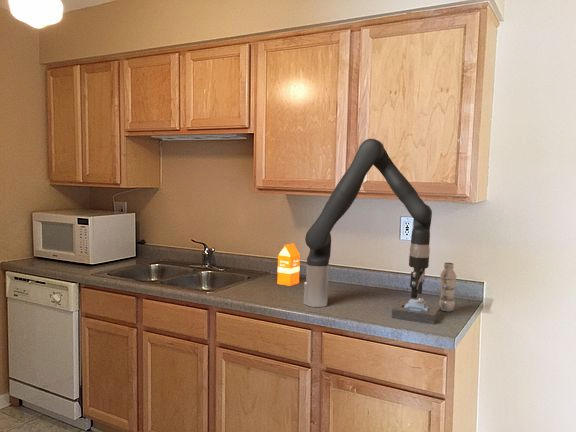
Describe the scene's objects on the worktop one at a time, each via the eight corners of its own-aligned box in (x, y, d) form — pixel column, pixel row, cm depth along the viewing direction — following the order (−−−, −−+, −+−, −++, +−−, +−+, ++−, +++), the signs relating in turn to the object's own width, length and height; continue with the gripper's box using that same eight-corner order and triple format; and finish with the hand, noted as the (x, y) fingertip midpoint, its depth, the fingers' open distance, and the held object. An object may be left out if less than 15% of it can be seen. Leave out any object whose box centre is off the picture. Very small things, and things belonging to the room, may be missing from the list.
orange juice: (299, 282, 250) (300, 243, 248) (290, 285, 242) (291, 245, 240) (286, 280, 254) (287, 242, 252) (276, 283, 246) (277, 244, 245)
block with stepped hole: (391, 317, 191) (392, 309, 191) (400, 309, 204) (401, 301, 203) (433, 324, 184) (434, 315, 184) (440, 315, 196) (440, 306, 196)
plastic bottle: (454, 309, 206) (456, 262, 204) (455, 313, 199) (457, 265, 197) (438, 308, 207) (440, 261, 206) (438, 312, 201) (441, 264, 199)
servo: (403, 315, 194) (404, 297, 194) (406, 313, 198) (407, 295, 197) (426, 319, 190) (427, 300, 190) (429, 316, 194) (430, 298, 193)
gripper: (413, 251, 200) (411, 290, 201) (405, 256, 187) (402, 298, 189) (432, 253, 197) (429, 293, 198) (425, 258, 184) (422, 301, 185)
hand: (416, 295), depth 193 cm, fingers open, 8 cm apart
